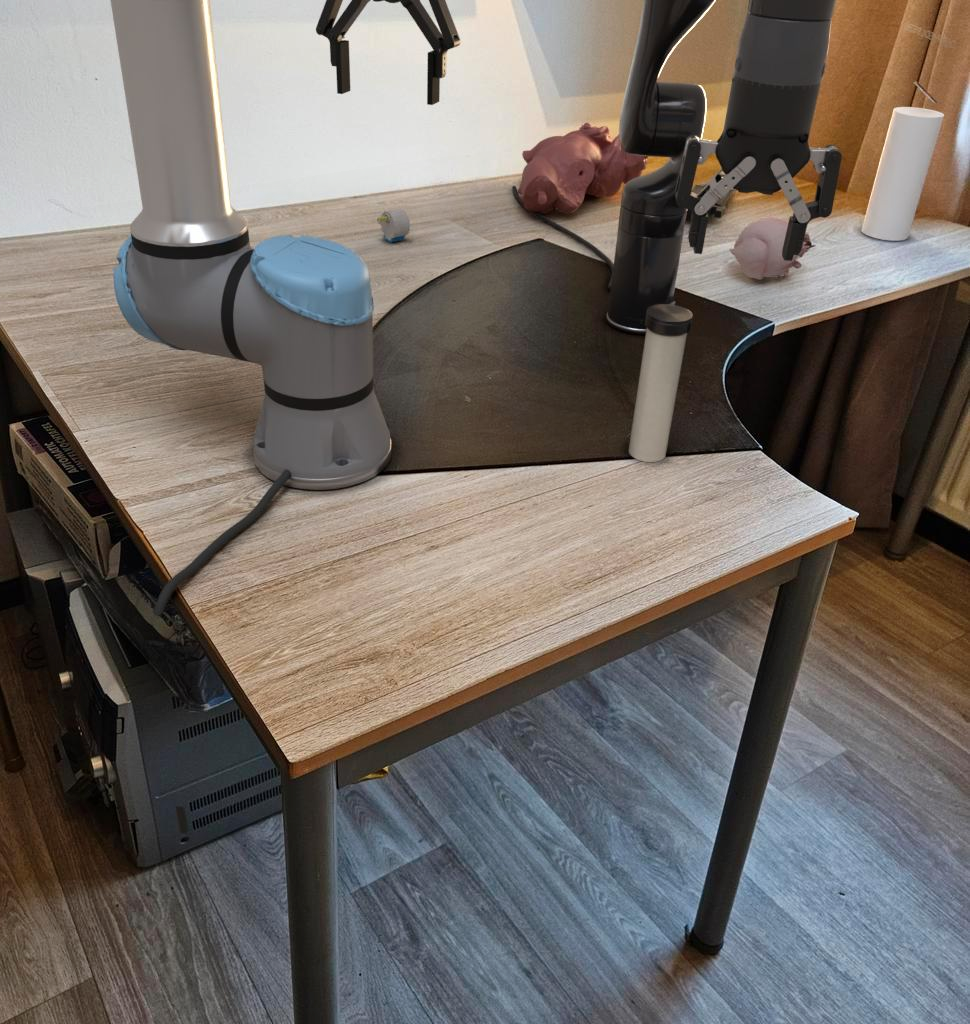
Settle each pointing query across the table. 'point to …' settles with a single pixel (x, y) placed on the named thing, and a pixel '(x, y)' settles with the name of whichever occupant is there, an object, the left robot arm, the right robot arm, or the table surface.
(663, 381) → the beige cylinder
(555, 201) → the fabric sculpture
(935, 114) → the tall white tube
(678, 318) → the lid
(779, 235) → the toy
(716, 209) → the toy
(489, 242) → the table surface
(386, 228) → the electric motor
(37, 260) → the table surface
